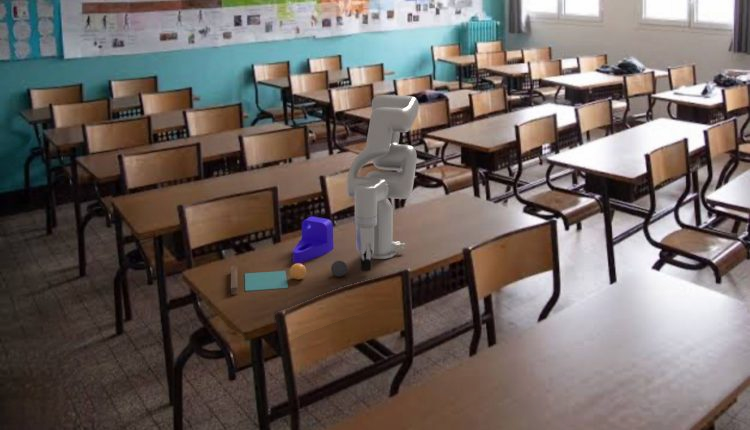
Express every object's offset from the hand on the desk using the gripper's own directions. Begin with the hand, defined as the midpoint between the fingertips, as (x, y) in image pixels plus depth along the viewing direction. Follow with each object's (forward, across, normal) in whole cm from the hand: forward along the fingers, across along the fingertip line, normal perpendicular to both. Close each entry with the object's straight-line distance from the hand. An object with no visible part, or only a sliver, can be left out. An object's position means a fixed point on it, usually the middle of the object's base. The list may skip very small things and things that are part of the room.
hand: (365, 269), depth 250 cm
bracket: (+2, -21, -18) cm, 28 cm away
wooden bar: (+2, 0, -45) cm, 45 cm away
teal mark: (+2, 0, -34) cm, 34 cm away
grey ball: (-1, 0, -9) cm, 9 cm away
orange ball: (-1, 0, -23) cm, 23 cm away
